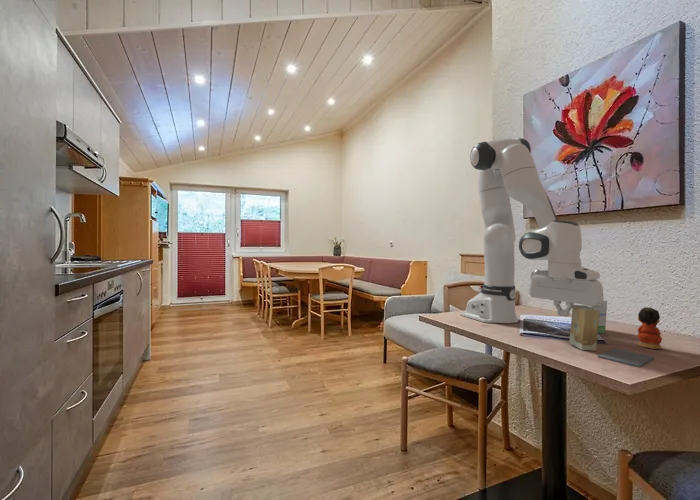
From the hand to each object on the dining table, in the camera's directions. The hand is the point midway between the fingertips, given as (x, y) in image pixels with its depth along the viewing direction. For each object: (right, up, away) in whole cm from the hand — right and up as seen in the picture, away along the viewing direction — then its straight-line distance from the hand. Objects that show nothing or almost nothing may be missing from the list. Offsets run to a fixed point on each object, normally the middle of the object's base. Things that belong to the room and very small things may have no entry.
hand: (563, 315), depth 106 cm
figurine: (+24, -9, -3) cm, 26 cm away
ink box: (+21, -9, +16) cm, 28 cm away
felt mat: (+9, -9, -13) cm, 18 cm away
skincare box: (+3, -9, -4) cm, 10 cm away
